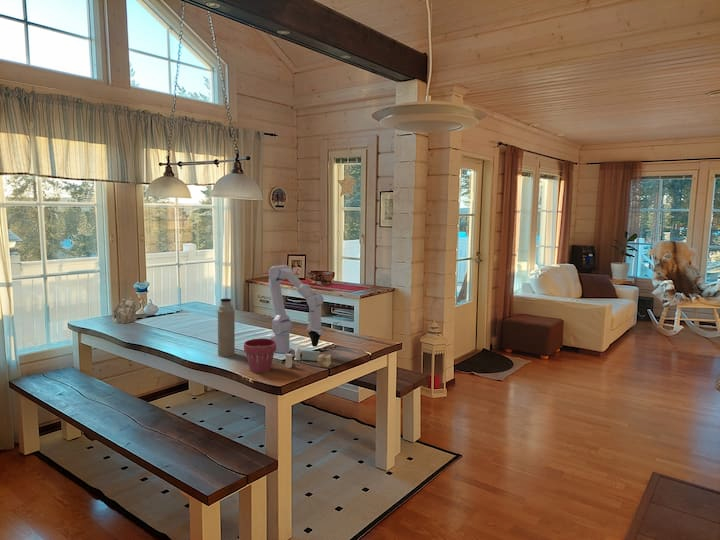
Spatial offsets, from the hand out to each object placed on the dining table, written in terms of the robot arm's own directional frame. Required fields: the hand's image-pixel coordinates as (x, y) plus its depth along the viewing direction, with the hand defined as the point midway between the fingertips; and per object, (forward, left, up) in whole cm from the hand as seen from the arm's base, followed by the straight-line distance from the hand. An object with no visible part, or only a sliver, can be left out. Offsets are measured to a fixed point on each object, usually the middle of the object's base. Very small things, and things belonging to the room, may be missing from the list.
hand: (314, 346), depth 244 cm
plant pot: (-18, -25, -6) cm, 31 cm away
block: (+8, -10, -6) cm, 14 cm away
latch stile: (-8, -15, -6) cm, 18 cm away
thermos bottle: (-43, -8, -6) cm, 44 cm away
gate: (0, -5, -6) cm, 7 cm away
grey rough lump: (-138, +41, -6) cm, 144 cm away
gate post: (-7, -5, -6) cm, 10 cm away
